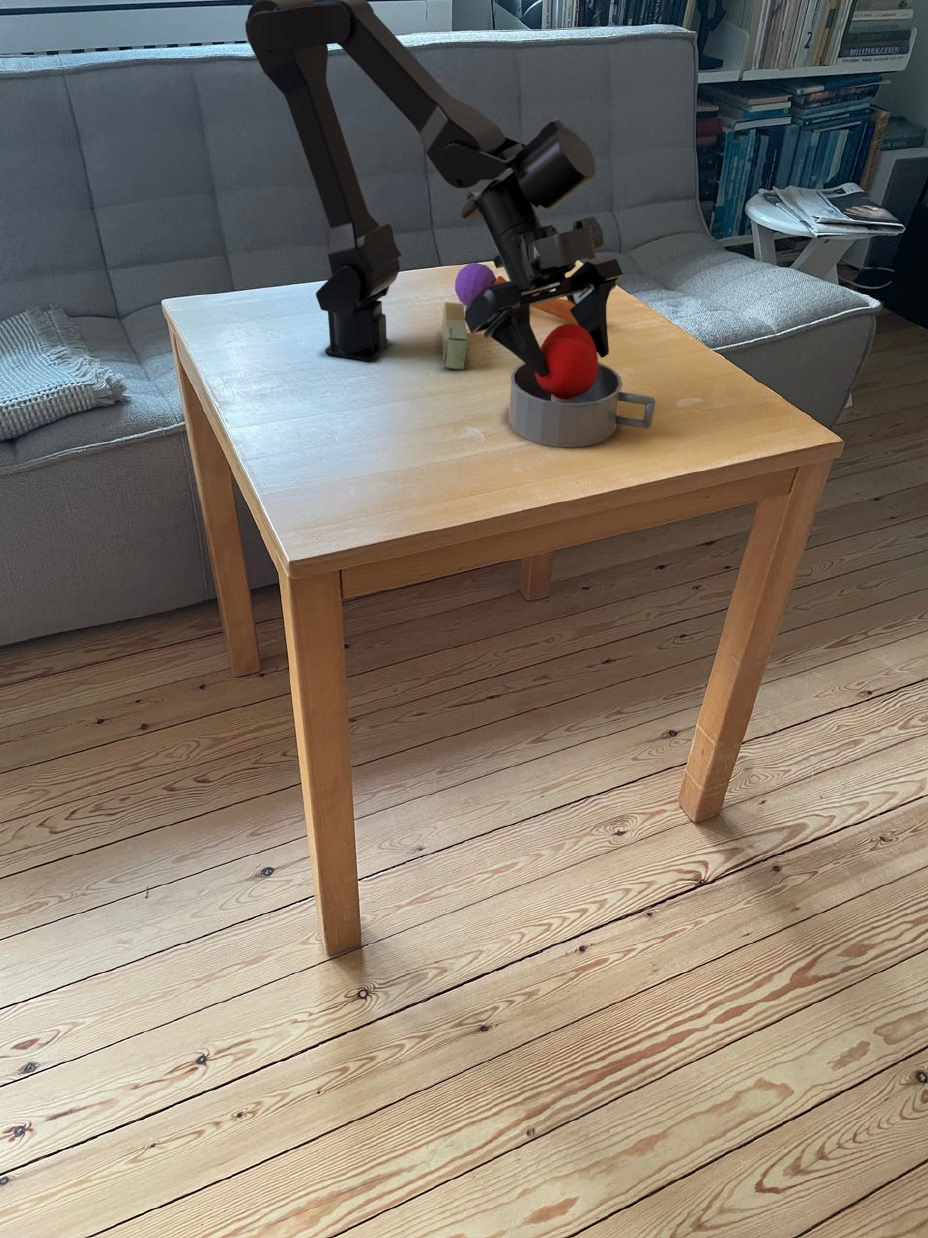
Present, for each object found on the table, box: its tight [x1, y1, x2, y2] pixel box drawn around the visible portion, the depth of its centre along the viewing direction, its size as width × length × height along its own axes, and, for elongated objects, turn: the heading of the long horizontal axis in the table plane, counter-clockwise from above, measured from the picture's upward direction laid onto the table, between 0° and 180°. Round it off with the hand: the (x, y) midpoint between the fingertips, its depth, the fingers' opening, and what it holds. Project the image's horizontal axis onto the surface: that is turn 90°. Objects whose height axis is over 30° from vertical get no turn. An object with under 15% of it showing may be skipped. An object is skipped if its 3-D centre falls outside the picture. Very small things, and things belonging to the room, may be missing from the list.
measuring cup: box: [508, 361, 657, 448], centre depth 105 cm, size 16×12×5 cm
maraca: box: [454, 262, 579, 325], centre depth 130 cm, size 6×6×20 cm
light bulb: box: [535, 323, 599, 403], centre depth 104 cm, size 9×7×10 cm
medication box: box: [440, 301, 469, 371], centre depth 120 cm, size 12×3×4 cm, turn 3°
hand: (576, 365), depth 102 cm, fingers open, 8 cm apart
